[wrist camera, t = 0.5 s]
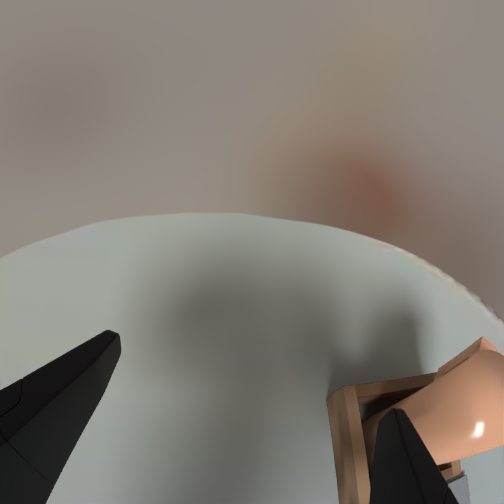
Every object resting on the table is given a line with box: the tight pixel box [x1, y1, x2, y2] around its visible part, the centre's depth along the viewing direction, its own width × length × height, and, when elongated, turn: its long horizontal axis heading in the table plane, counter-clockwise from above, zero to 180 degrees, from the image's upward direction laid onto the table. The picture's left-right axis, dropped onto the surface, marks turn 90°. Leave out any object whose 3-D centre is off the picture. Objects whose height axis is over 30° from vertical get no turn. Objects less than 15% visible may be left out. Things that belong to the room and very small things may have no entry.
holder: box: [327, 372, 461, 504], centre depth 21 cm, size 10×10×4 cm
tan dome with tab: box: [362, 336, 504, 472], centre depth 18 cm, size 9×6×13 cm
